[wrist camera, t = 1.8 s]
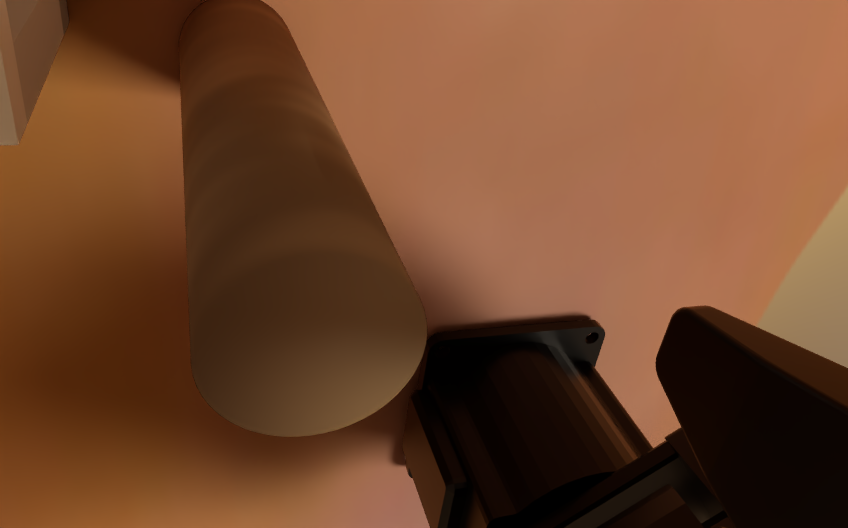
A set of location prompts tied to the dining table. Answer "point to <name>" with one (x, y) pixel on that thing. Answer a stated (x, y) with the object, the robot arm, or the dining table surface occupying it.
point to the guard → (26, 58)
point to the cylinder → (282, 239)
